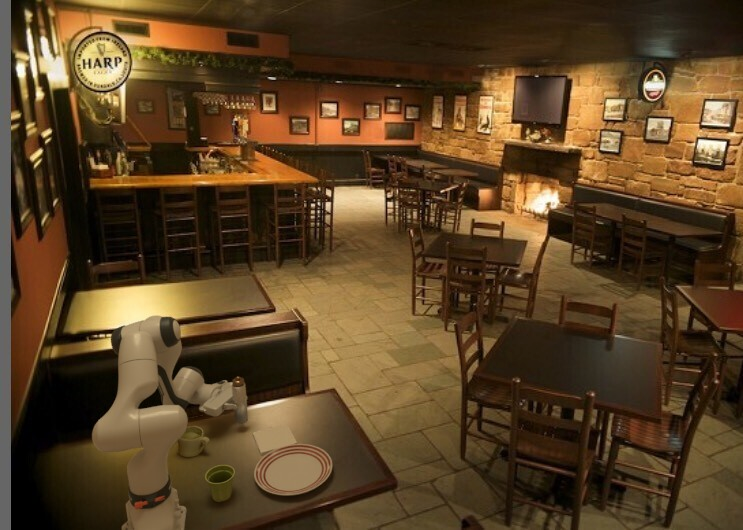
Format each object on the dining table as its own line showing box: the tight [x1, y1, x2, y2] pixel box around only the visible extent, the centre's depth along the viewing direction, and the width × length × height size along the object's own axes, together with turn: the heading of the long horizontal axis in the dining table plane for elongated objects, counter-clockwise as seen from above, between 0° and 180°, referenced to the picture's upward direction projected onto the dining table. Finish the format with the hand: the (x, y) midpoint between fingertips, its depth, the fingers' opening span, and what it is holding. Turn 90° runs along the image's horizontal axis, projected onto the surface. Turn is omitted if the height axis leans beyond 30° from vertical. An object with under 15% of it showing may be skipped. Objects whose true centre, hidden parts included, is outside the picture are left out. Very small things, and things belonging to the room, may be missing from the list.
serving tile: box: [252, 423, 298, 456], centre depth 199 cm, size 14×14×1 cm
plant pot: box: [204, 464, 236, 503], centre depth 169 cm, size 9×9×9 cm
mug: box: [177, 425, 211, 458], centre depth 191 cm, size 12×10×10 cm
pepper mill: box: [231, 375, 249, 425], centre depth 202 cm, size 5×5×20 cm
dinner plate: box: [253, 443, 333, 497], centre depth 181 cm, size 28×27×3 cm
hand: (241, 402), depth 202 cm, fingers closed on pepper mill, 5 cm apart
